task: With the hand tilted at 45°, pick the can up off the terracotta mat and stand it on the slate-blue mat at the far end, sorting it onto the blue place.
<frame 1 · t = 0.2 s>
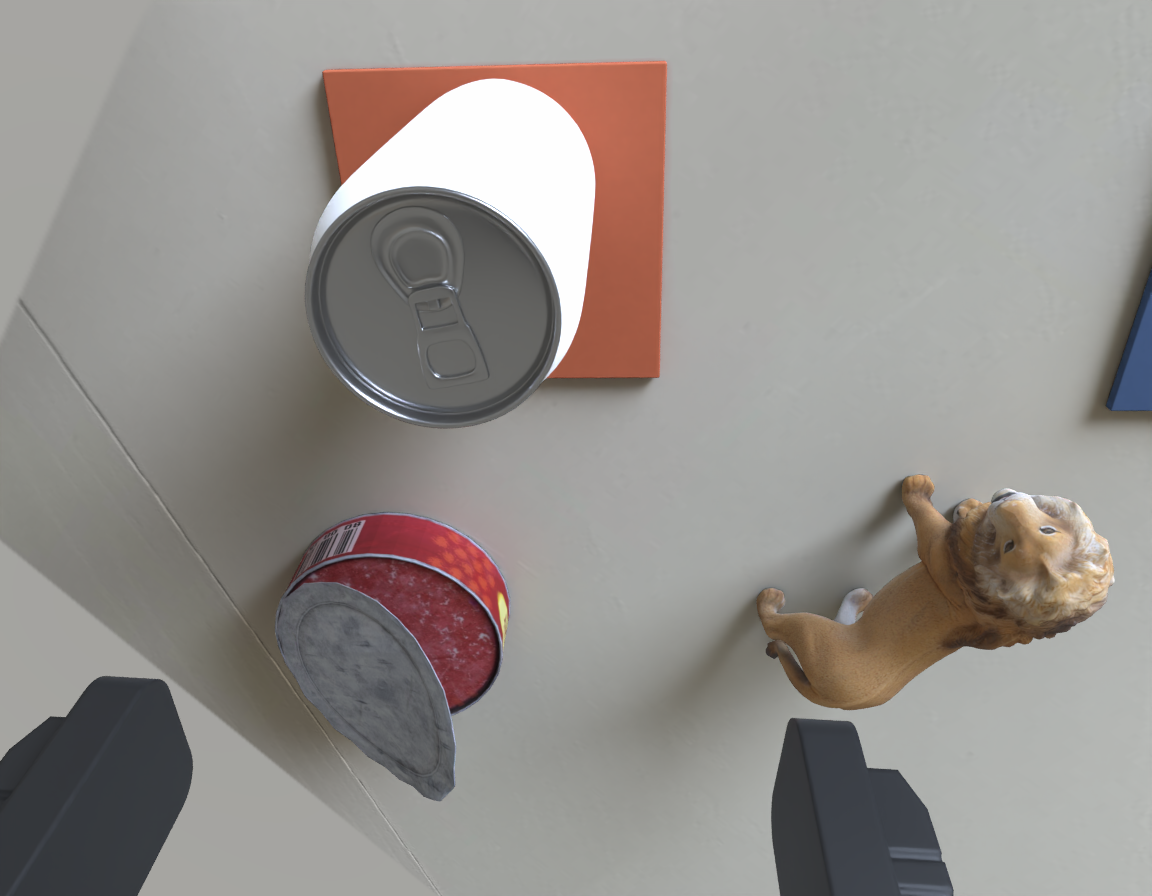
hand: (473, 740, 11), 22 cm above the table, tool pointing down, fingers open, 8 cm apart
canned food: (404, 596, 39), on the table
lion figurine: (879, 528, 36), on the table
terracotta mat: (506, 234, 30), on the table
can: (501, 178, 29), resting on terracotta mat
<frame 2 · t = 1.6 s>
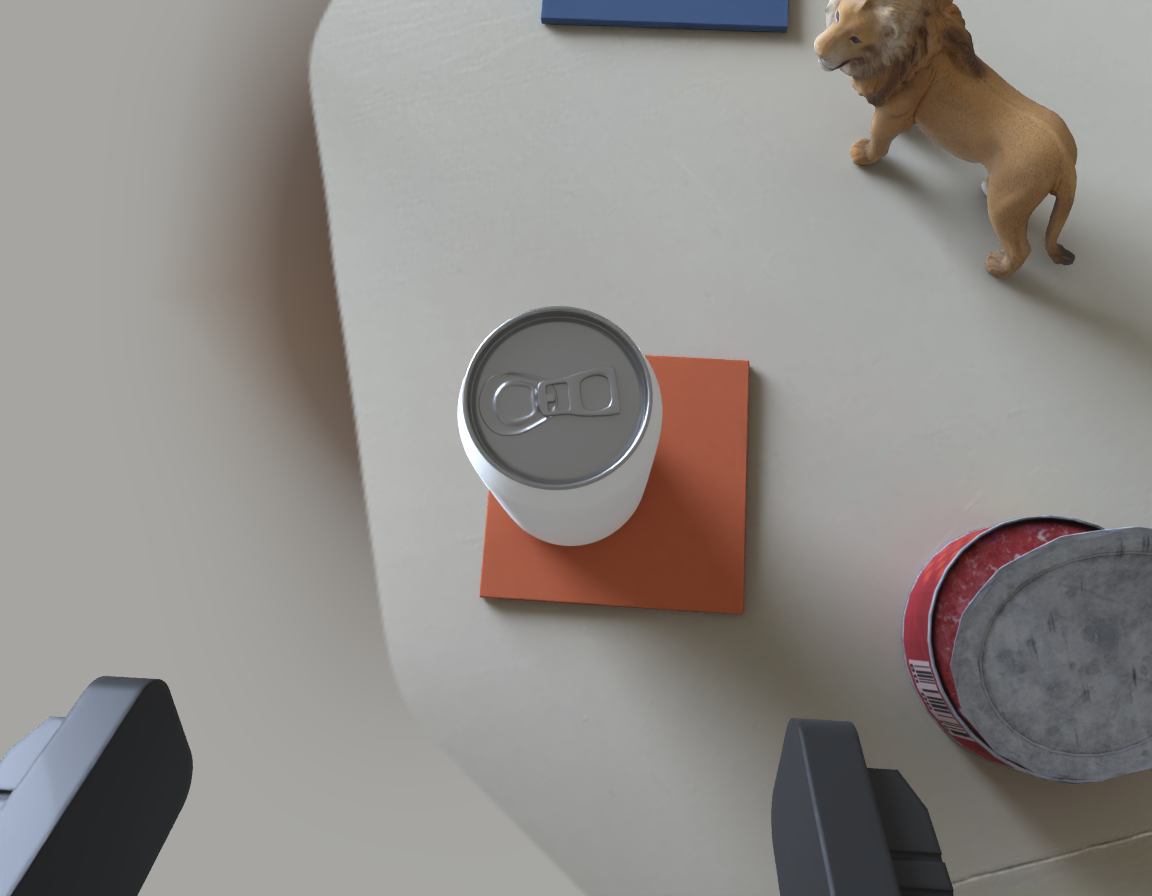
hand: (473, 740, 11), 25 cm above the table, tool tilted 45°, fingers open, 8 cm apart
canned food: (1021, 645, 35), on the table
lion figurine: (913, 179, 40), on the table
terracotta mat: (617, 477, 37), on the table
can: (571, 473, 37), resting on terracotta mat
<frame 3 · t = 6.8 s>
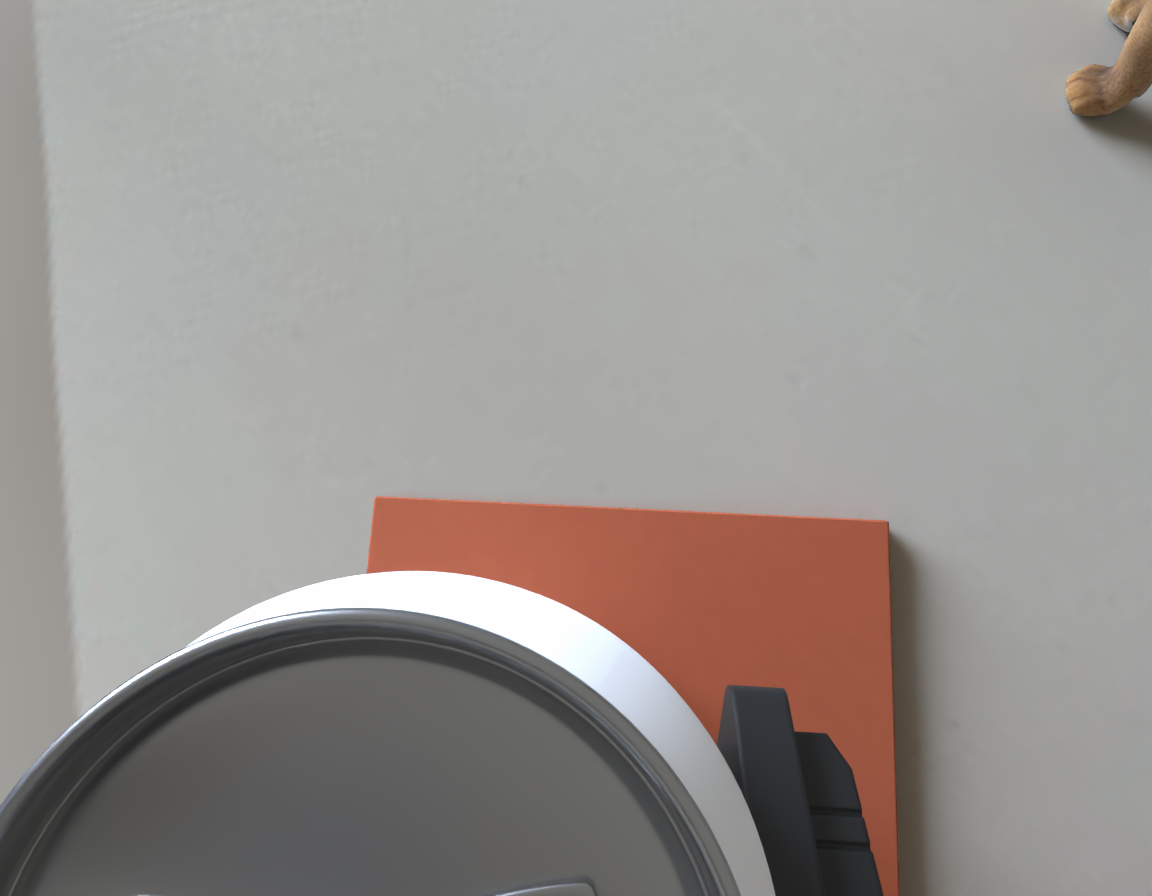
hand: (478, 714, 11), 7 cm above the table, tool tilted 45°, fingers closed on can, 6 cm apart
terracotta mat: (617, 777, 17), on the table
can: (518, 773, 17), resting on terracotta mat, touching gripper
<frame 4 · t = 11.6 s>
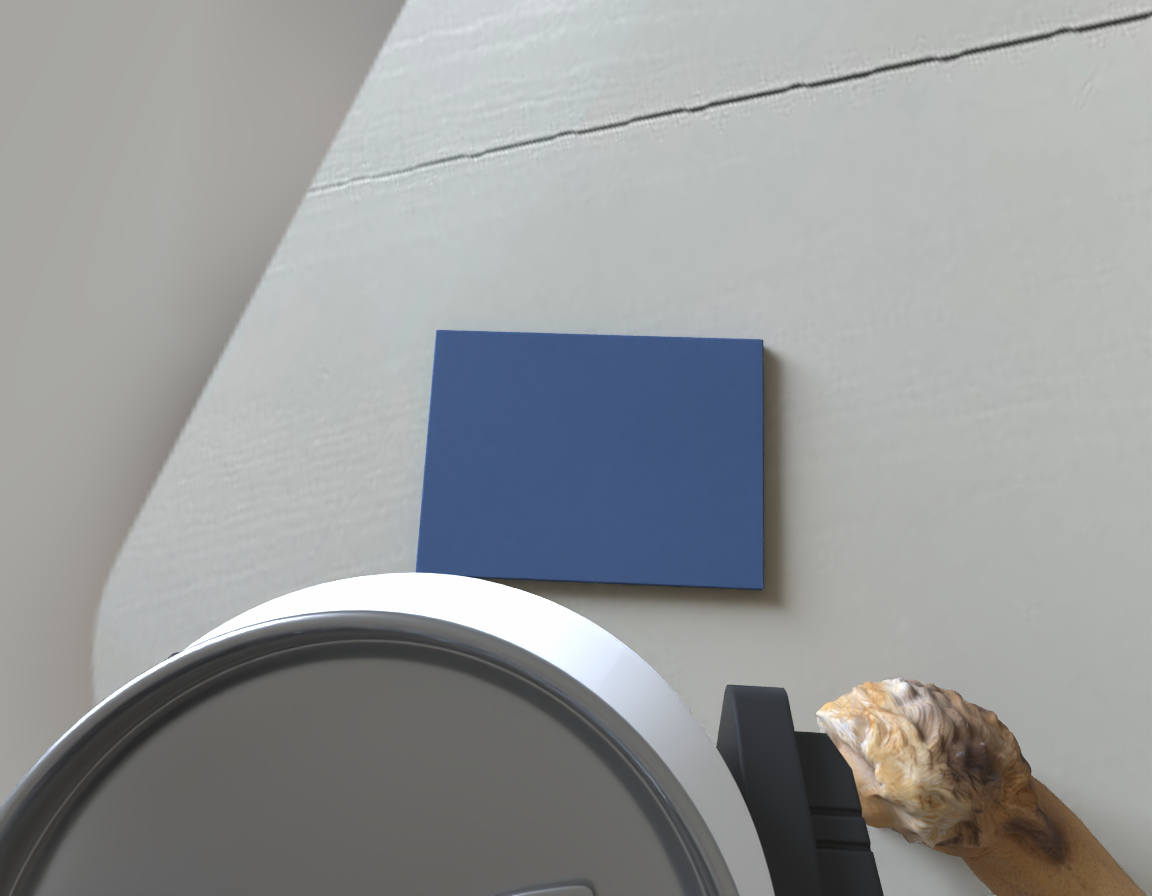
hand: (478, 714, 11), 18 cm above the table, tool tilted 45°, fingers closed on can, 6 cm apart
lion figurine: (948, 832, 28), on the table
blue mat: (593, 456, 31), on the table
can: (518, 774, 17), point 12 cm above the table, touching gripper
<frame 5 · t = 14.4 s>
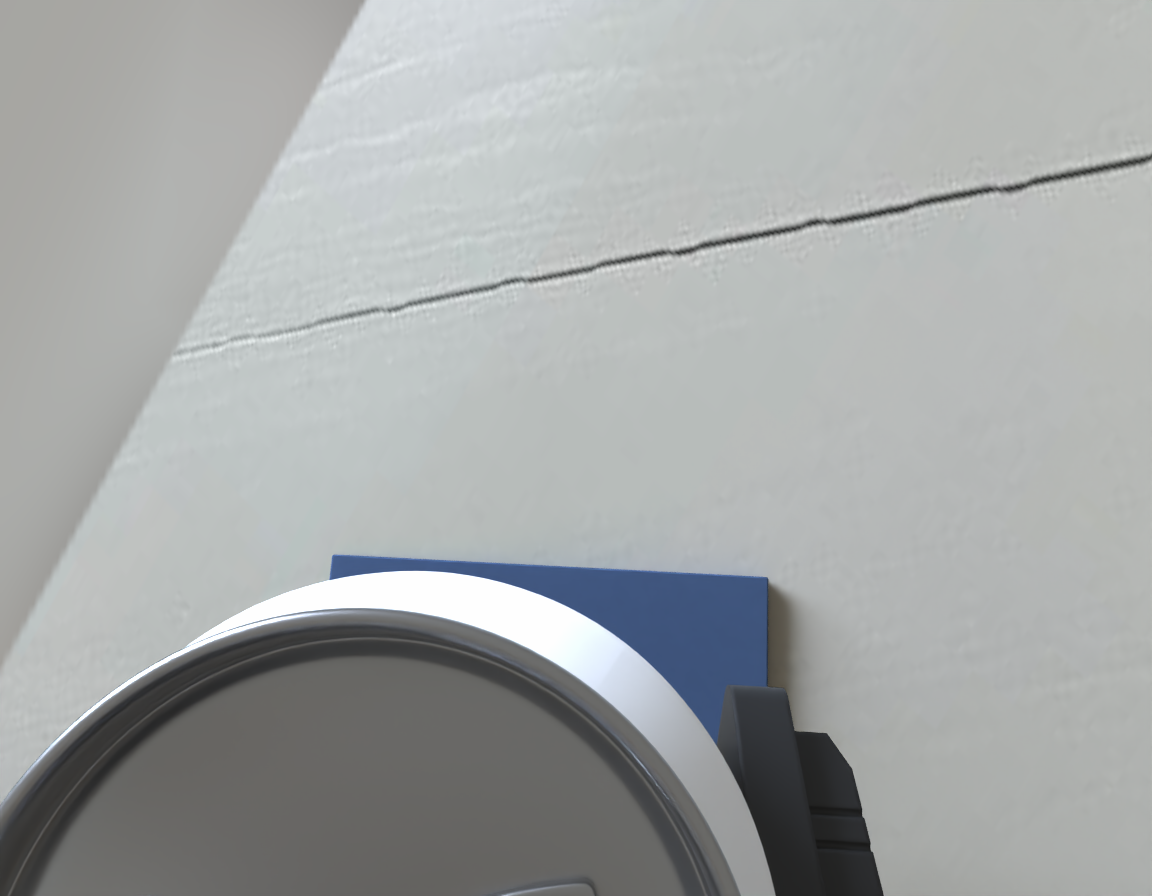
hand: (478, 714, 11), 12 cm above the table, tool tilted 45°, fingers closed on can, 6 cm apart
blue mat: (538, 736, 23), on the table
can: (518, 773, 17), point 6 cm above the table, touching gripper
when the fingers open (7 cm above the table, at t = 16.5 s): can stays where it is, resting on blue mat.
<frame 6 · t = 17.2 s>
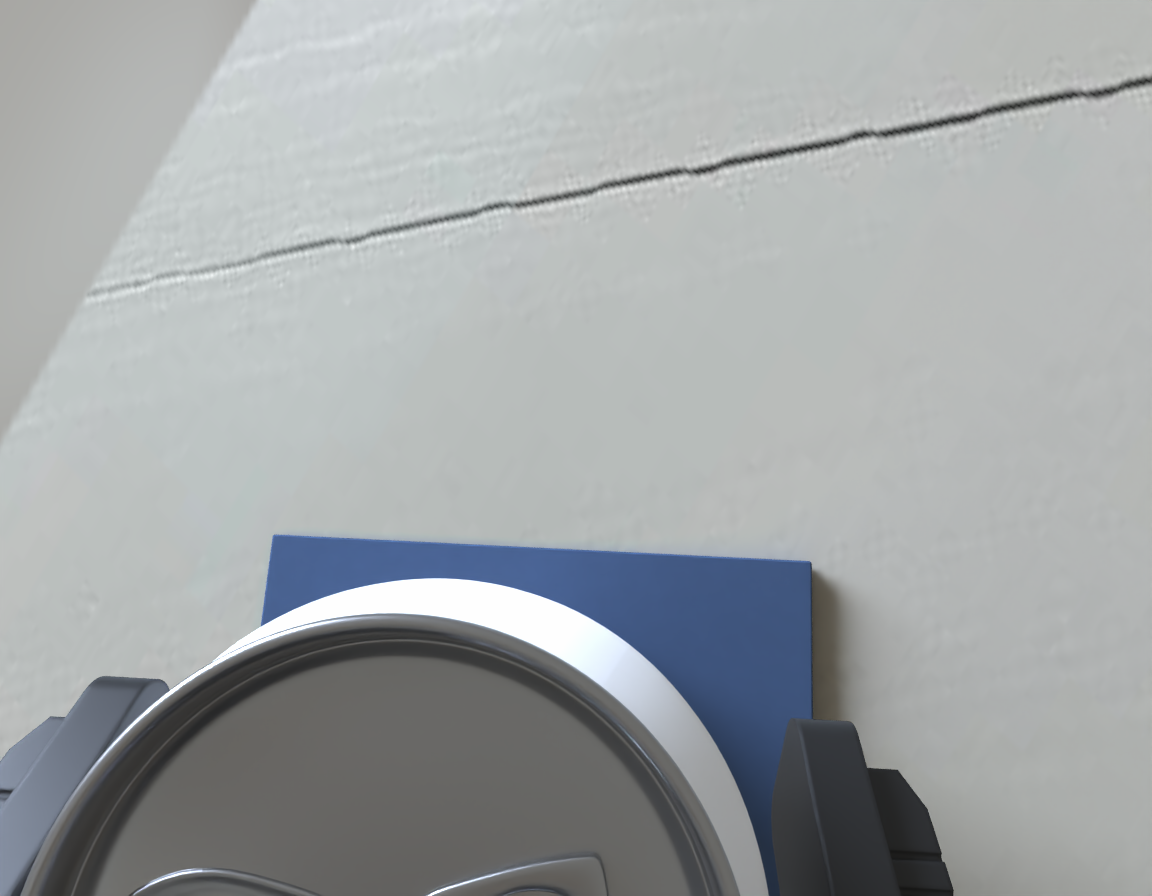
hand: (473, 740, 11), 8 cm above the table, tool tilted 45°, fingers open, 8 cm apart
blue mat: (526, 759, 18), on the table
can: (526, 768, 18), resting on blue mat
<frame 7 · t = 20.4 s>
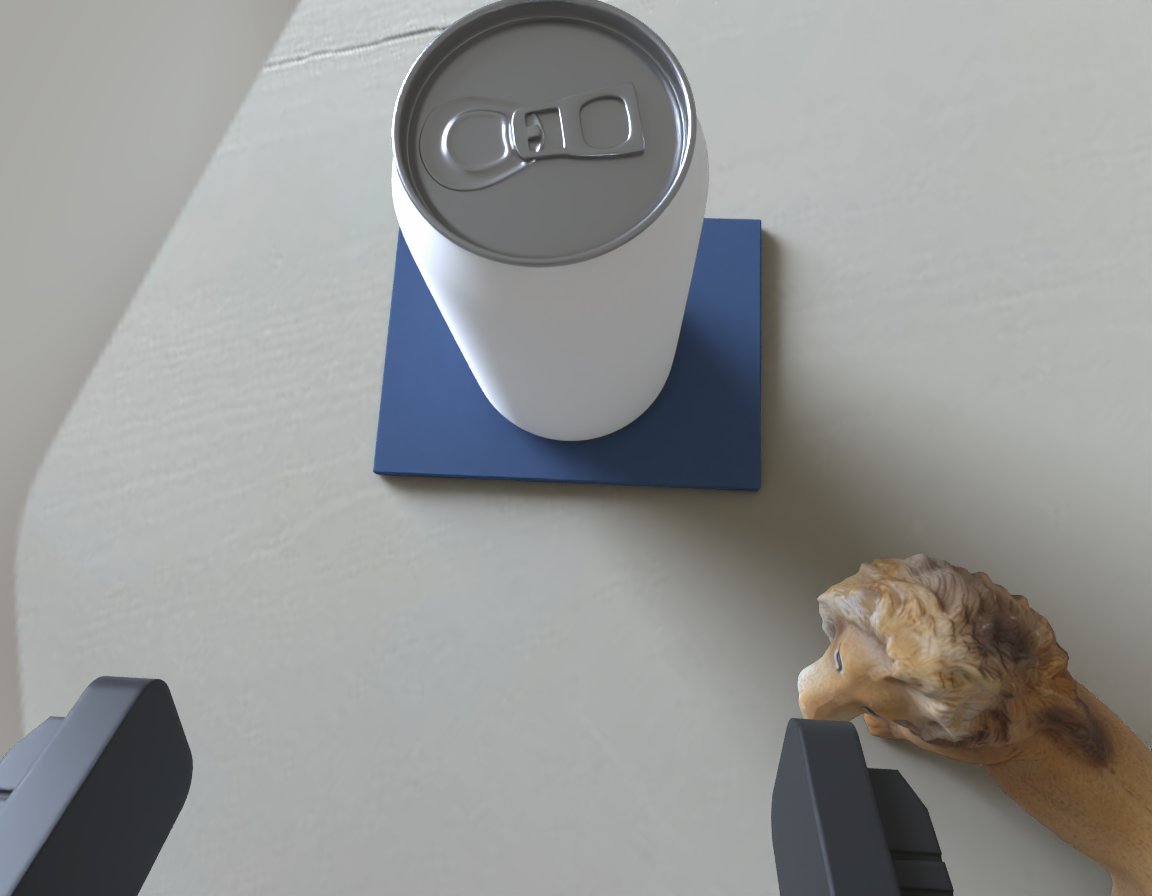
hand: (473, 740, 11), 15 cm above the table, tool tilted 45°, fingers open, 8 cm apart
lion figurine: (966, 757, 25), on the table
blue mat: (572, 346, 28), on the table
can: (573, 348, 27), resting on blue mat
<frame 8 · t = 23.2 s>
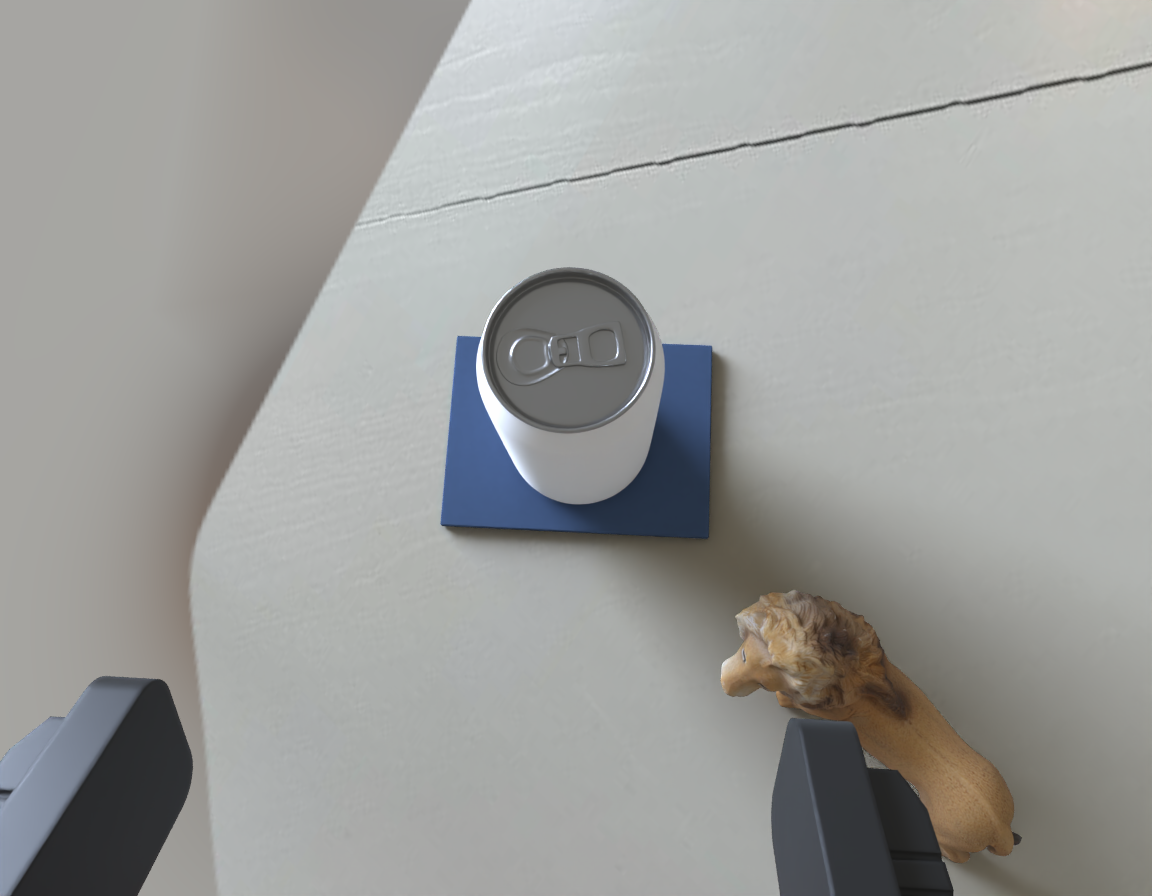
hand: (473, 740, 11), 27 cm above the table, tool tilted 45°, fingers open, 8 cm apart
lion figurine: (845, 721, 36), on the table
blue mat: (579, 435, 39), on the table
can: (579, 437, 39), resting on blue mat
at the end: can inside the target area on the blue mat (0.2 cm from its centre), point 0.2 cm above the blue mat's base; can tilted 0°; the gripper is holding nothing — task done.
